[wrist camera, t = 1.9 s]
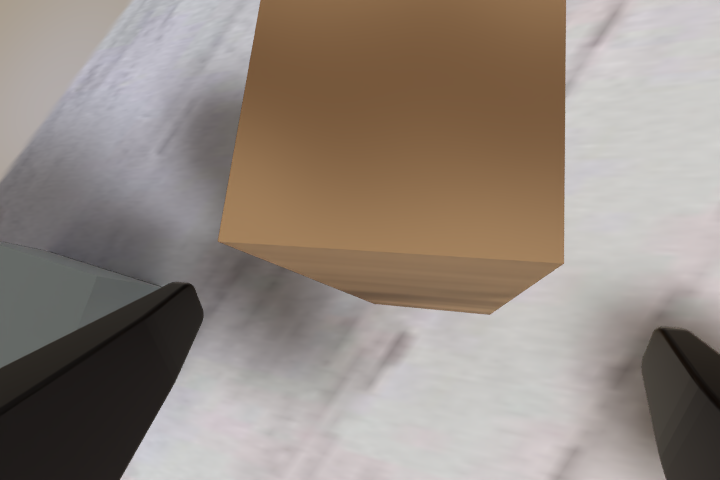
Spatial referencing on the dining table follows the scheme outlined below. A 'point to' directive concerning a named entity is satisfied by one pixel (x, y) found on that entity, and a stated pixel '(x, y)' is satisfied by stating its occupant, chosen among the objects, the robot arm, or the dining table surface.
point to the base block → (54, 297)
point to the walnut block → (404, 148)
